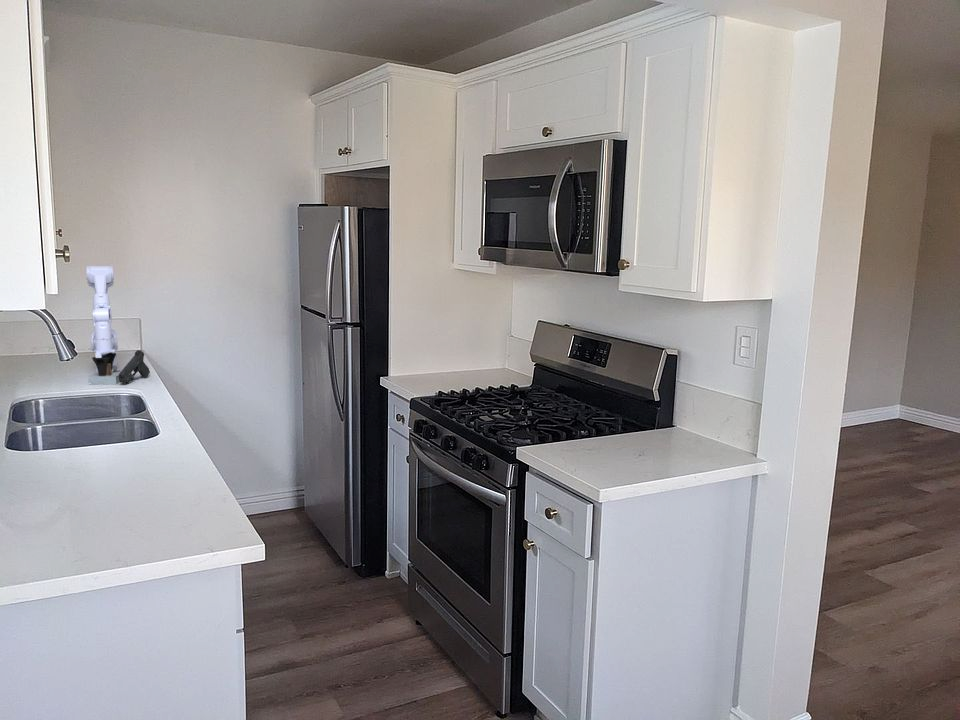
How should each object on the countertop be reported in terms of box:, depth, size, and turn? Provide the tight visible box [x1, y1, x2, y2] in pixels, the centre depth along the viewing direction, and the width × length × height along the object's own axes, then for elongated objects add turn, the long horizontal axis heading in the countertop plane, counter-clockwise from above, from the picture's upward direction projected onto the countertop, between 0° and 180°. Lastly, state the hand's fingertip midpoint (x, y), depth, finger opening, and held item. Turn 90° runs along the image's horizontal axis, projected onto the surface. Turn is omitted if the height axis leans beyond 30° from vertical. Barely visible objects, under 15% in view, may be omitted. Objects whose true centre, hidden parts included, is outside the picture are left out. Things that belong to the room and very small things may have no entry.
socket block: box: [87, 371, 121, 385], centre depth 294 cm, size 9×10×3 cm
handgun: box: [118, 349, 151, 385], centre depth 296 cm, size 2×17×12 cm, turn 174°
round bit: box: [111, 365, 119, 372], centre depth 301 cm, size 4×4×5 cm
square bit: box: [98, 364, 111, 376], centre depth 293 cm, size 4×4×7 cm
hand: (105, 373), depth 293 cm, fingers open, 7 cm apart
